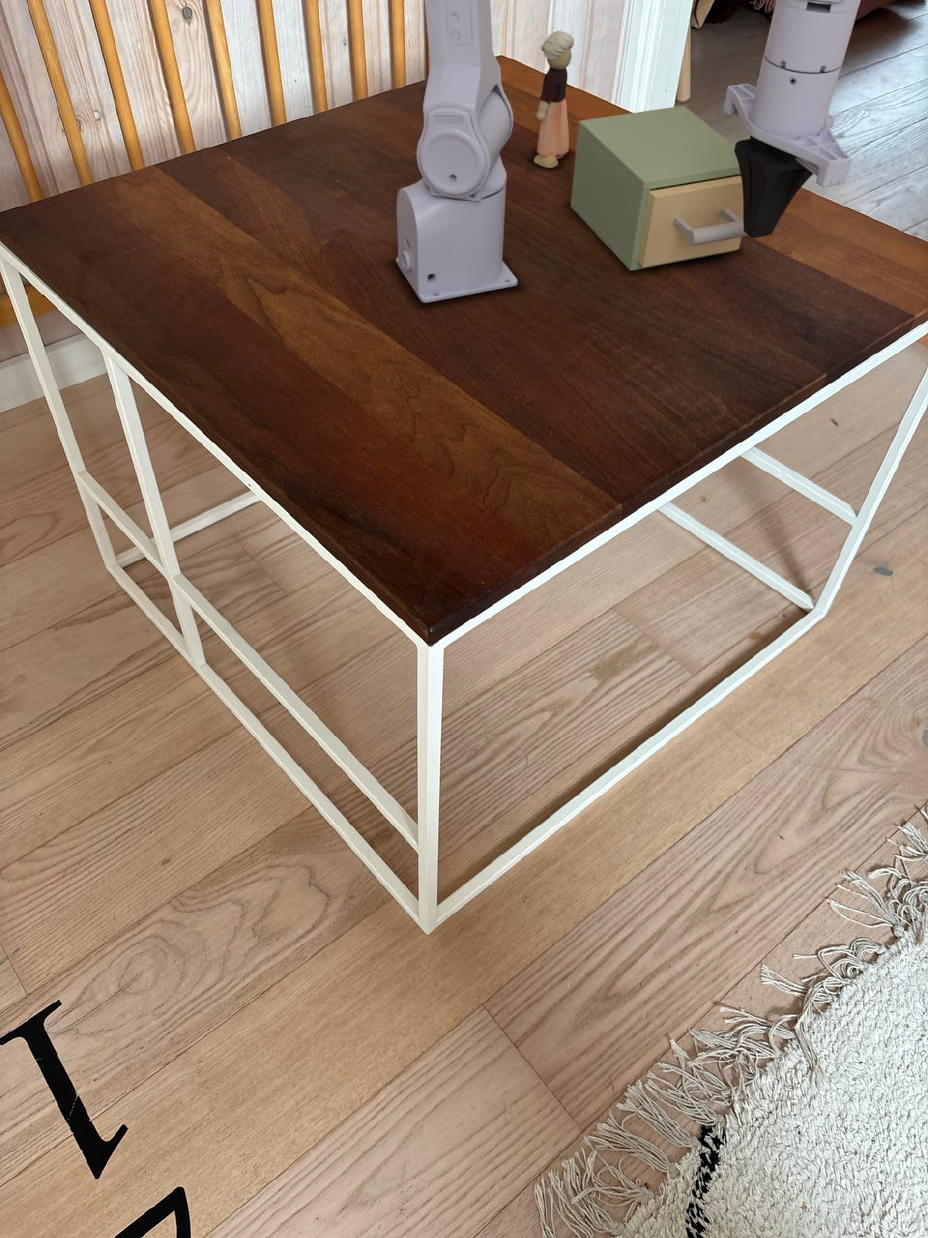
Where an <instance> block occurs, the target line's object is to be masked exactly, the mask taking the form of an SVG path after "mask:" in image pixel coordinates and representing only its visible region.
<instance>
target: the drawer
mask: <svg viewBox="0 0 928 1238" xmlns="http://www.w3.org/2000/svg"><path fill="white" fill-rule="evenodd" d="M743 237H750V236H749V235H747V234H746V233H745V232H744V226H743V187H742V179H741V176H736V177H733V175H731V176H725V177H719V178H713V179H708V180H702V181H696V182H690V183H684V184H678V185H672V186H666V187H660V188H654V189H650V191H649V194H648V200H647V206H646V212H645V218H644V225H643V231H642V237H641V243H640V249H639V256H638V262H639V263H640V264H641V265H642V267H648V266H653V265H658V264H664V263H669V262H674V261H679V260H685V259H690V258H695V257H700V256H705V255H711V254H716V253H721V252H726V251H732V250H735V251H737V250H740V246H741V241H742V238H743ZM732 252H733V251H732ZM721 254H722V253H721ZM716 255H717V254H716ZM711 256H712V255H711ZM700 258H701V257H700ZM695 259H696V258H695ZM690 260H691V259H690ZM685 261H686V260H685ZM674 263H675V262H674ZM669 264H670V263H669ZM664 265H665V264H664ZM653 267H654V266H653ZM648 268H649V267H648Z"/></svg>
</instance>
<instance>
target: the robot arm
mask: <svg viewBox="0 0 928 1238" xmlns="http://www.w3.org/2000/svg"><path fill="white" fill-rule="evenodd" d="M860 3H861V0H776V1H775V5H774V9H773V14H772V18H771V22H770V27H769V32H768V35H767V40H766V44H765V47H764V53H763V56H762V61H761V65H760V69H759V70H760V71H759V74H758V78H757V82H756V86H753V85H751V84H750V83H742V84H734V85H728V86H727V88H726V93H725V98H724V102H723V107H722V111H723V112H725V114H727V115H728V116H733V115H736V116H737V117H739V118H740V120H741V122H742V124H743V126H744V129H745V130H746V132H747V133H748V134H749V135H750V137H749V138H746V139H742V140H741V139H740V140H738V141H736V142H735V145H734V146H735V149H734V152H735V155H736V158H737V161H738V164H739V168H740V173H741V179H742V187H743V226H744V232H745V233H746V234H747V235H749V236H748V237H749V238H751V239H756V238H758V239H759V238H762V237H767V236H768V237H769V236H772V234H773V233H774V231H775V230H776V227H777V225H778V224H779V222H780V220H781V218H782V216H783V215H784V213H785V211H786V210H787V208H788V206H789V205H790V204H791V202H792V200H793V199H794V197H795V196H796V194H797V193H798V192H799V191H800V190H801V188H802V187H803V186H804V185H805V183H806V182H807V181H808V180H809V179H810V178H811V177H812V176H813V175H815V176H816V180H815V183H816V184H817V185H819V186H820V187H821V188H828V187H835V186H836V187H837V186H841V185H845V184H846V180H847V177H848V175H849V171H850V168H851V164H852V161H853V158H852V157H851V156H850V155H848V153H846V152H845V151H844V150H843V148H842V147H841V145H840V144H839V142H838V140H837V138H836V137H835V135H834V133H833V132H832V128H833V127H834V124H835V120H836V118H835V116H834V115H832V114H831V113H829V111H830V108H831V104H832V100H833V97H834V95H835V90H836V86H837V84H838V79H839V76H840V73H841V69H842V65H843V63H844V60H845V55H846V53H847V49H848V45H849V41H850V38H851V36H852V31H853V28H854V25H855V21H856V17H857V13H858V11H859V7H860ZM491 6H492V5H491V0H424V9H425V20H426V33H427V45H428V54H429V73H428V78H427V83H426V86H425V87H426V88H425V92H424V97H423V104H422V113H423V128H422V133H421V135H420V138H419V140H418V142H417V146H416V163H417V167H418V170H419V172H420V175H421V176H422V178H421V179H420V180H418V181H416V182H415V183H413V184H410V185H408V186H405V187H402V188H400V189H398V192H397V196H396V232H397V233H396V234H397V257H396V258H395V263H396V264H397V266H398V268H399V270H400V271H401V272H402V274H403V275H404V277H405V278H406V280H407V282H408V283H409V285H410V286H411V288H412V289H413V292H414V293H415V294H416V296H417V297H418V299H419V301H420V302H422V303H423V304H427V303H433V302H439V301H443V300H449V299H454V298H459V297H464V296H470V295H476V294H480V293H486V292H491V291H496V290H502V289H506V288H512V287H516V286H517V285H518V283H519V281H518V280H519V279H517V277H516V276H515V275H514V273H513V272H512V271H511V269H509V267H508V265H507V264H506V263H505V261H504V260H503V255H504V237H505V235H504V234H505V218H506V217H505V213H506V195H507V176H508V175H507V171H506V169H505V167H504V165H503V162H502V157H501V150H502V149H503V148H504V147H505V145H506V144H507V142H508V141H509V140H510V138H511V135H512V132H513V128H514V114H513V113H514V112H513V108H512V106H511V103H510V100H509V99H508V97H507V95H506V93H505V91H504V88H503V84H502V71H501V70H502V68H501V66H500V64H499V62H498V61H499V60H497V58H496V56H495V54H494V50H493V49H494V48H493V28H492V12H491V11H492V7H491Z"/></svg>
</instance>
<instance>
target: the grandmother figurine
mask: <svg viewBox="0 0 928 1238" xmlns="http://www.w3.org/2000/svg"><path fill="white" fill-rule="evenodd" d="M574 46H575V39H574V36H573V35H571V34H570V33H568V32H565V31H564V30H556V31H553V32H552V33H550V34H549V35H548V37H547V38H546V39H545V40H544V42H543V44H542V45H541V46H540V49H541V51H542V52H543V54H544V57H545V58H546V62H547V64H548V66H549V69H548V70H547V72H546V74H545V75H544V78H543V83H542V90H541V94H540V97H539V104H538V108H537V112H536V114H535V118H536V120H537V121H538V122H540V126H539V132H538V139H537V148H536V153H537V155H535V157H534V159H533V163H534V164H536V165H538V166H541V167H543V168H546V169H547V168H548V169H552V168H555V167H557V166H558V165H559V161H558V159H561V158H563V157H564V156H565V154H567V153H569V150H570V148H569V147H570V136H569V133H570V132H569V120H568V119H569V118H568V107H567V100H566V96H567V93H568V75H569V74H568V73H569V72H568V70H567V67H569V66H570V63H571V61H572V57H573V55H572V49H573V47H574Z"/></svg>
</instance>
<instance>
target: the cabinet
mask: <svg viewBox="0 0 928 1238" xmlns="http://www.w3.org/2000/svg"><path fill="white" fill-rule="evenodd" d="M734 149H735V145H734V144H732V143H731V142H730V141H729V140H727V139H726V138H725V137H724V136H723V135H721V134H720V133H719V132H717V131H716V130H715V129H714V128H713V127H711V126H710V125H709V124H707V122H705V121H704V120H702V119H701V118H700V117H699V116H697V115H696V114H695V113H694V112H692V111H691V110H690V109H689V108H687V107H686V106H685V105H679V106H672V107H664V108H659V109H651V110H650V109H649V110H644V111H638V112H637V111H636V112H631V113H625V114H617V115H610V116H603V117H596V118H589V119H582V120H579V121H578V130H577V139H576V149H575V157H574V158H575V159H574V168H573V178H572V187H571V188H572V189H571V197H570V198H571V199H570V207H571V209H572V210H573V211H574V212H575V213H576V214H577V216H579V217H580V219H581V220H583V222H584V223H585V224H586V225H587V226H588V227H589V229H591V230H592V231H593V232H594V233H595V235H596V236H597V237H598V238H599V239H600V240H601V241H602V242H603V243H604V245H606V246H607V247H608V248H609V250H611V252H612V253H613V254H614V255H615V256H616V257H617V258H618V259H619V260H620V262H622V264H623V265H624V266H625V267H626V268H627V269H628V270H629V271H632V272H633V271H636V270H643V269H648V268H652V267H657V266H658V267H659V266H665V265H669V264H674V263H678V262H679V263H680V262H684V261H690V260H694V259H701V258H705V257H710V256H715V255H716V256H717V255H720V254H726V253H731V252H735V251H736V250H732V251H726V252H721V253H716V254H711V255H705V256H700V257H695V258H690V259H685V260H679V261H674V262H669V263H664V264H658V265H653V266H648V267H642V265H641V264H640V263H639V262H638V256H639V249H640V243H641V237H642V231H643V225H644V218H645V212H646V206H647V200H648V194H649V191H650V189H654V188H660V187H666V186H672V185H678V184H684V183H690V182H696V181H702V180H708V179H713V178H719V177H725V176H731V175H733V177H736V176H741V173H740V168H739V164H738V161H737V158H736V155H735V152H734Z"/></svg>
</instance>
